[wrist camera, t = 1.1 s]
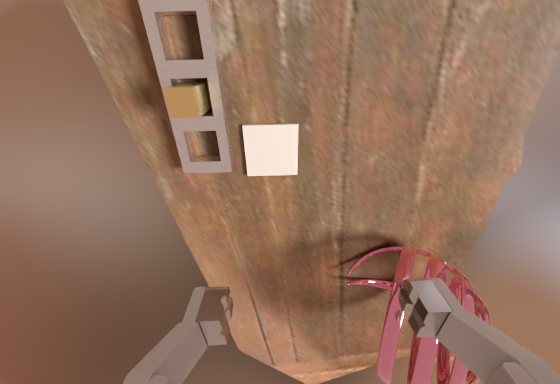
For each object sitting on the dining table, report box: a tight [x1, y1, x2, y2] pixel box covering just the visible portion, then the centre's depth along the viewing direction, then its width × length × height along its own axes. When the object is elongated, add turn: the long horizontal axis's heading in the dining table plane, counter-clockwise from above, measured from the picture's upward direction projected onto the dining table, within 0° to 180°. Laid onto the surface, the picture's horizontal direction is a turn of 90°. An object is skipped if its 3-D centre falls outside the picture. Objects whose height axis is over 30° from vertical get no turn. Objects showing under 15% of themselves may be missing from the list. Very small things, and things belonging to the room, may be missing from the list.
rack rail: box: [138, 0, 235, 173], centre depth 37 cm, size 26×9×3 cm, turn 1°
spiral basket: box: [347, 246, 491, 384], centre depth 49 cm, size 28×28×27 cm
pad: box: [242, 123, 298, 176], centre depth 43 cm, size 10×10×1 cm
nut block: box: [163, 82, 212, 118], centre depth 34 cm, size 4×4×8 cm
